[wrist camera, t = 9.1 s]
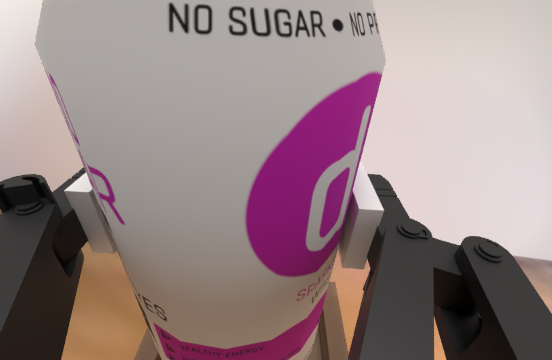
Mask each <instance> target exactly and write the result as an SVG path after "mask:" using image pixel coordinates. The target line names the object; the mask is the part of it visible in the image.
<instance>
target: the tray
mask: <svg viewBox="0 0 552 360" xmlns="http://www.w3.org/2000/svg"><path fill="white" fill-rule="evenodd" d="M134 360H162V359H161V357H160V355H159V353H158V351H157V348H156V346H155V343H154V341H153V338H152V336H151V333H150V331H149V328H147V331H146V333H145V335H144V338H143V340H142V342H141V345H140V347H139V350H138V352H137V354H136V357H135V359H134ZM306 360H348V350H347V345H346V339H345V334H344V328H343V323H342V317H341V312H340V306H339V300H338V295H337V289H336V284H335V282H329V285H328V289H327V293H326V297H325V301H324V305H323V308H322V312H321V316H320V320H319V324H318V328H317V332H316V336H315V340H314V344H313V348H312V351H311V352H310V354H309V355H308V357H307V359H306Z"/></svg>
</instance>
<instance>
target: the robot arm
mask: <svg viewBox="0 0 552 360" xmlns="http://www.w3.org/2000/svg"><path fill="white" fill-rule="evenodd" d="M0 209H1V210H2V212H3V213H2V214H1V215H0V360H61V357H62V353H63V349H64V344H65V340H66V335H67V331H68V327H69V322H70V318H71V314H72V309H73V305H74V300H75V296H76V292H77V287H78V283H79V278H80V274H81V270H82V265H83V261H84V255H83V253H82V251H81V248H82V247H83V246H84V245H85V243H86V242H87V241H88V242H89V244H90V247H91V249H92V251H93V252H96V253H112V254H114V253H115V252H116V250H117V248H116V246H115V243H114V241H113V238H112V236H111V233H110V231H109V228H108V226H107V223H106V221H105V218H104V216H103V213H102V211H101V208H100V206H99V203H98V201H97V198H96V196H95V193H94V191H93V188H92V186H91V183H90V181H89V178H88V176H87V173H86V171H85V168H82V169H81V170H80V171H79V173H76V174H75V175H74V176H72V179H68V180H67V181H66V182H65V183H63V184H62V185H61V186H60V187H59V188H58V189H56V190H55V191H53V192H51V190H50V188H49V186H48V184H47V182H46V180H45V178H44V177H42V176H41V175H36V174H30V175H29V174H28V175H21V176H16V177H12V178H9V179H6V180H3V181H1V182H0ZM338 249H339V254H340V259H341V263H342V268H354V269H364V266H365V263H366V261H367V259H368V262H369V265H370V268H371V269H370V272H369V274H368V277H367V280H366V282H365V285H364V288H363V290H364V294H363V298H362V302H361V306H360V311H359V315H358V319H357V323H356V327H355V331H354V336H353V340H352V344H351V348H350V352H349V356H348V360H434V317H435V321H436V324H437V328H438V331H439V335H440V338H441V342H442V345H443V349H444V352H445V356H446V359H447V360H552V314H551V312H550V311H549V309H548V308H547V306H546V305H545V303H544V302H543V300H542V299H541V297H540V296H539V294H538V293H537V291H536V290H535V288H534V287H533V285H532V284H531V282H530V281H529V279H528V278H527V276H526V275H525V274H524V272H523V271H522V269H521V268H520V266H519V265H518V263H517V262H516V260H515V259H514V257H513V256H512V255H511V254H510V253H509V252H508V251H507V250H506V249H504V248H503V247H502V246H500V245H499V244H497V243H496V242H493V241H491V240H489V239H485V238H482V237H479V236H478V237H477V236H469V237H466V238H465V239H464V240H463V241H462V243H461V245H460V246H459V245H456V244H452V243H449V242H445V241H441V240H438V239H435V238H433V237H432V234H431V232H430V231H429V230H428V229H427V228H426V227H425V226H424V225H423V224H421V223H420V222H417V221H415V220H413V219H410V218H409V216H408V214H407V212H406V211H405V209H404V207H403V206H402V204H401V202H400V200H399V198H397V195H396V193H395V191H393V188H392V186H391V185H390V183H389V182H388V181H387V180H386V179H385V178H383V177H382V176H381V175H374V174H367V173H366V171H365V169H364V167H363V164H362V163H361V160H360V163H359V167H358V171H357V175H356V179H355V183H354V187H353V191H352V195H351V199H350V203H349V206H348V210H347V214H346V218H345V222H344V226H343V230H342V234H341V238H340V242H339V246H338Z"/></svg>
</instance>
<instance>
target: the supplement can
mask: <svg viewBox="0 0 552 360" xmlns="http://www.w3.org/2000/svg"><path fill="white" fill-rule="evenodd" d="M35 46H36V48H37V51H38V53H39V56H40V58H41V61H42V63H43V66H44V68H45V71H46V73H47V76H48V78H49V81H50V83H51V86H52V88H53V90H54V93H55V96H56V98H57V101H58V103H59V106H60V108H61V111H62V113H63V116H64V118H65V121H66V123H67V126H68V128H69V131H70V133H71V136H72V138H73V141H74V143H75V146H76V148H77V151H78V153H79V156H80V158H81V161H82V163H83V166H84V168H85V171H86V173H87V176H88V178H89V181H90V183H91V186H92V188H93V191H94V193H95V196H96V198H97V201H98V203H99V206H100V208H101V211H102V213H103V216H104V218H105V221H106V223H107V226H108V228H109V231H110V233H111V236H112V238H113V241H114V243H115V246H116V248H117V251H118V253H119V256H120V258H121V261H122V263H123V266H124V268H125V271H126V273H127V276H128V278H129V281H130V283H131V286H132V288H133V291H134V293H135V296H136V298H137V301H138V303H139V306H140V308H141V311H142V313H143V316H144V318H145V321H146V323H147V326H148V328H149V331H150V333H151V336H152V338H153V341H154V343H155V346H156V348H157V351H158V353H159V355H160V357H161V359H162V360H306V359H307V357H308V355H309V354H310V352H311V351H312V348H313V344H314V340H315V336H316V332H317V328H318V324H319V320H320V316H321V312H322V308H323V305H324V301H325V297H326V293H327V289H328V285H329V281H330V277H331V273H332V269H333V265H334V261H335V257H336V254H337V250H338V246H339V242H340V238H341V234H342V230H343V226H344V222H345V218H346V214H347V210H348V206H349V203H350V199H351V195H352V191H353V187H354V183H355V179H356V175H357V171H358V167H359V163H360V159H361V155H362V152H363V147H364V144H365V140H366V136H367V132H368V128H369V124H370V120H371V116H372V112H373V108H374V104H375V100H376V97H377V93H378V88H379V85H380V81H381V77H382V73H383V69H384V65H385V55H384V50H383V45H382V41H381V37H380V32H379V29H378V23H377V19H376V15H375V10H374V6H373V2H372V0H43V3H42V9H41V14H40V19H39V25H38V30H37V36H36V41H35Z"/></svg>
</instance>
